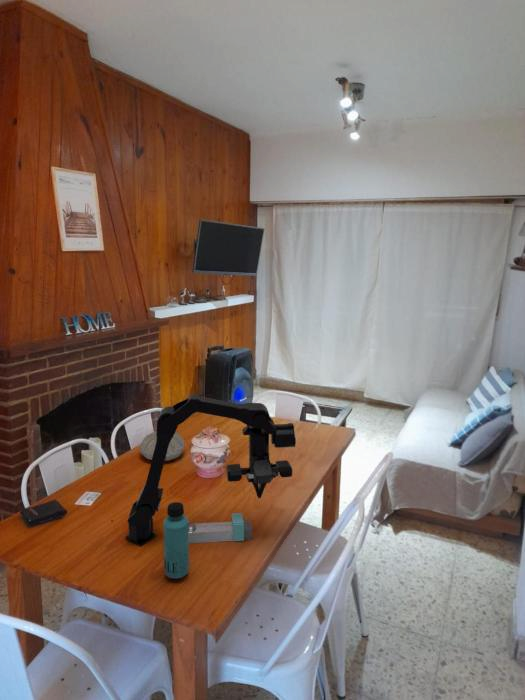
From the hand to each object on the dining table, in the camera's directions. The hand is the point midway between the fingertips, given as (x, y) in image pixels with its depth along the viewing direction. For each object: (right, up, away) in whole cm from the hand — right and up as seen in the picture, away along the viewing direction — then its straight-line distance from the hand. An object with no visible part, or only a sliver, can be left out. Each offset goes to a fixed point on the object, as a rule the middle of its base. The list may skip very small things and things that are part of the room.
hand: (259, 497), depth 139 cm
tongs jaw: (-12, -11, +2) cm, 16 cm away
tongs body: (-12, -12, 0) cm, 17 cm away
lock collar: (-6, -11, +1) cm, 13 cm away
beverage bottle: (-21, -15, -17) cm, 31 cm away
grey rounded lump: (-40, 0, +54) cm, 67 cm away
